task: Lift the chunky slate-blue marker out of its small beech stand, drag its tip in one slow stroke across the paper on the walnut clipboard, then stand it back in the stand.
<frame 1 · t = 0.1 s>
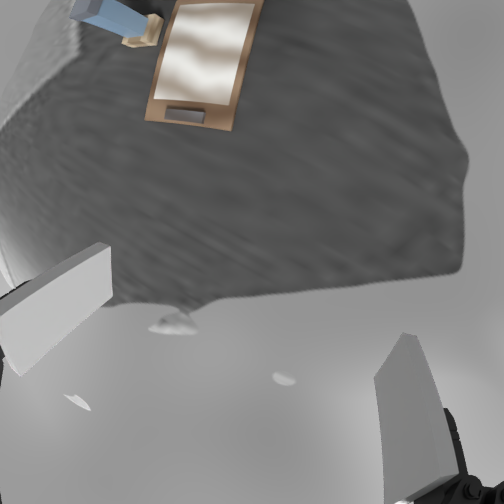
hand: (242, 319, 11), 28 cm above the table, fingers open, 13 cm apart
clipboard: (201, 55, 31), on the table
marker: (137, 28, 28), point 3 cm above the table, touching stand
stand: (147, 33, 31), on the table
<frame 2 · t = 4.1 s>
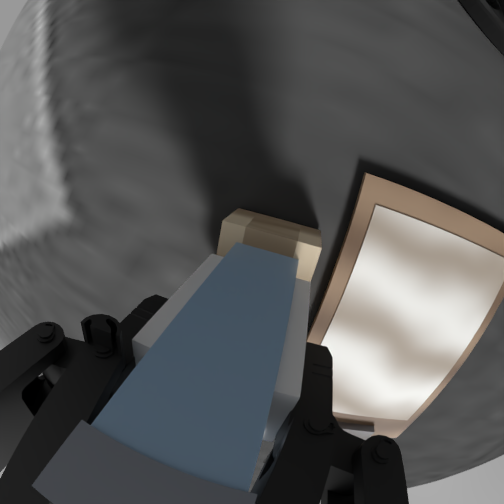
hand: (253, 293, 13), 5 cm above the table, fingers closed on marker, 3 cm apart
clipboard: (395, 350, 17), on the table
marker: (260, 278, 14), point 3 cm above the table, touching gripper, stand
stand: (269, 257, 17), on the table
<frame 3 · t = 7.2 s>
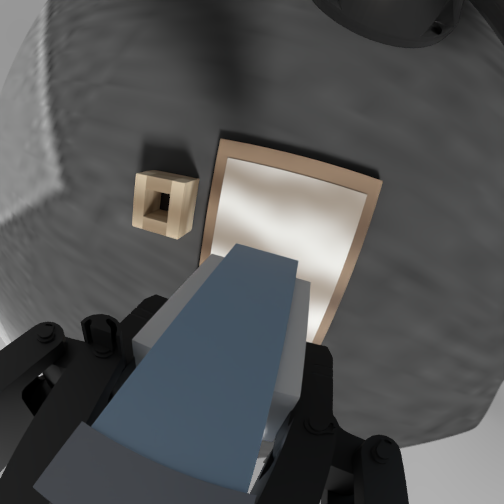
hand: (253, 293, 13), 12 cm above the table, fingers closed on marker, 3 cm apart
clipboard: (272, 272, 26), on the table
marker: (260, 279, 14), point 11 cm above the table, touching gripper
stand: (172, 199, 25), on the table
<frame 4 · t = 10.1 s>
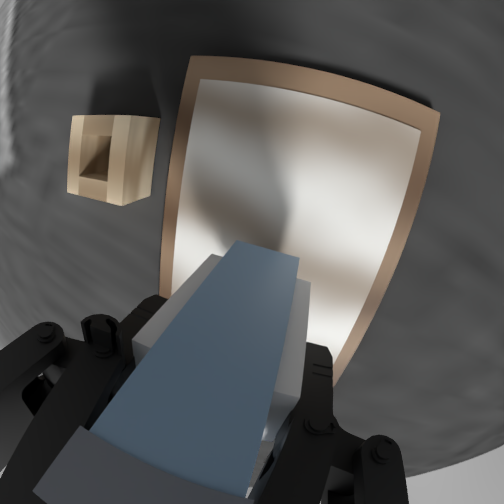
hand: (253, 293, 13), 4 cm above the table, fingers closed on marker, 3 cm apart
clipboard: (272, 259, 16), on the table
marker: (260, 276, 14), point 2 cm above the table, touching gripper
stand: (124, 153, 16), on the table
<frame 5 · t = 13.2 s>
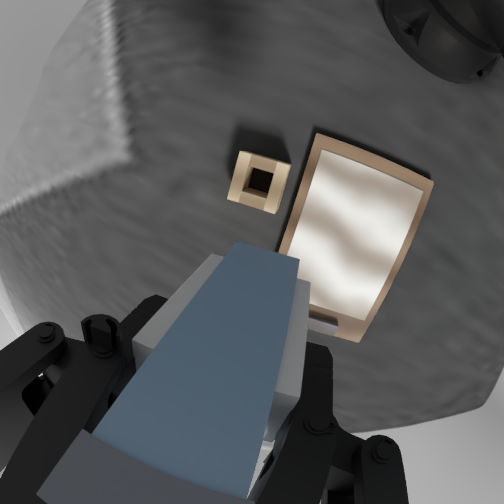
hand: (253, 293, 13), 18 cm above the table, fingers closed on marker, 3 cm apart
clipboard: (344, 249, 30), on the table
marker: (261, 277, 14), point 17 cm above the table, touching gripper
stand: (262, 179, 29), on the table
when the fingers open (5 cm above the table, at t = 16.2 s): marker stays where it is, resting on stand.
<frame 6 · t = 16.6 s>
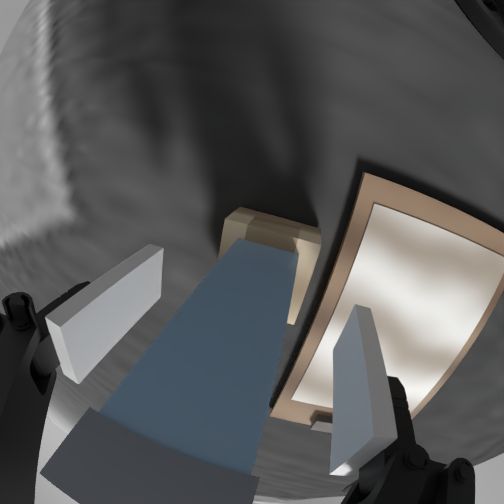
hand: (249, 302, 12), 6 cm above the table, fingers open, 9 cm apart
clipboard: (394, 347, 18), on the table
marker: (261, 273, 14), point 3 cm above the table, touching stand
stand: (270, 254, 17), on the table
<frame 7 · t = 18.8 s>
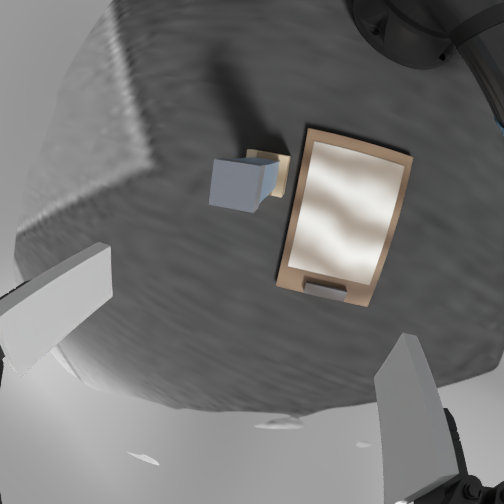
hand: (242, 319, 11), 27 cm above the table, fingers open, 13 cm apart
clipboard: (343, 223, 35), on the table
marker: (264, 172, 32), point 3 cm above the table, touching stand
stand: (268, 171, 34), on the table
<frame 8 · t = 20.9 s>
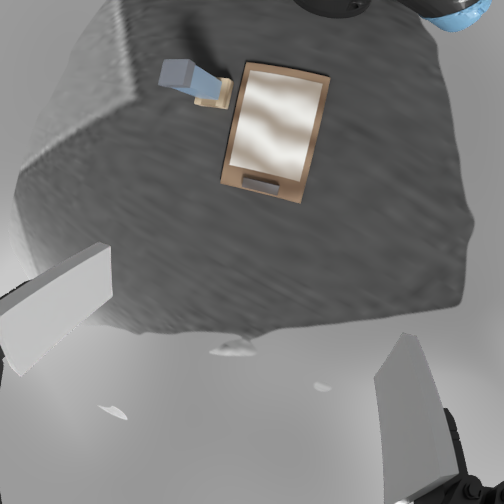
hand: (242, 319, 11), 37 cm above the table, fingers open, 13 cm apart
clipboard: (274, 129, 41), on the table
marker: (211, 90, 38), point 3 cm above the table, touching stand
stand: (217, 94, 41), on the table
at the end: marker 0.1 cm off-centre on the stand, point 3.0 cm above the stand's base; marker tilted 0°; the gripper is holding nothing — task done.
